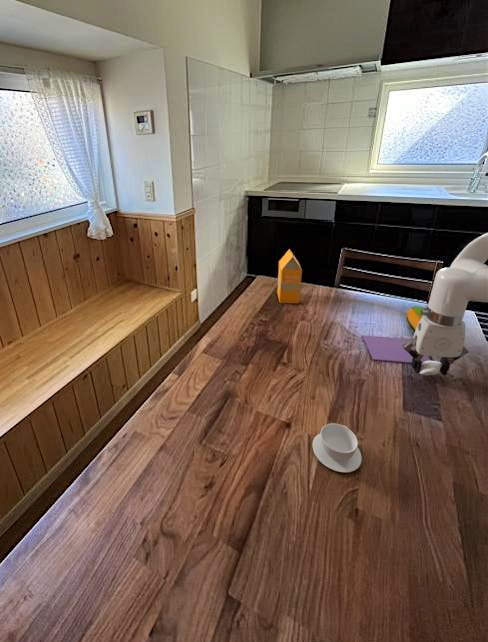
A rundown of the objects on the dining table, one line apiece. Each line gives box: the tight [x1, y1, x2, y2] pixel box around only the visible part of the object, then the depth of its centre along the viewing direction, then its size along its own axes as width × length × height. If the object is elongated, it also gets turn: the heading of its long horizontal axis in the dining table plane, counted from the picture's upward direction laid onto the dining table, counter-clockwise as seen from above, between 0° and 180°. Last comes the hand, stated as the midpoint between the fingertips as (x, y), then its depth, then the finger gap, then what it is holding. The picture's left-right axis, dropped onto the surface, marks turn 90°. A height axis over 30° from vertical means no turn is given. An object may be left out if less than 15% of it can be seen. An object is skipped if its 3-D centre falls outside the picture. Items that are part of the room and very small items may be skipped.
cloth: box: [362, 335, 432, 364], centre depth 104 cm, size 16×12×1 cm
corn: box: [406, 305, 427, 333], centre depth 109 cm, size 7×8×20 cm
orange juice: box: [276, 248, 303, 304], centre depth 134 cm, size 8×9×20 cm
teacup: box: [312, 423, 363, 473], centre depth 73 cm, size 10×10×5 cm
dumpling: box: [418, 360, 442, 377], centre depth 93 cm, size 7×5×4 cm
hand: (428, 370), depth 93 cm, fingers closed on dumpling, 5 cm apart
